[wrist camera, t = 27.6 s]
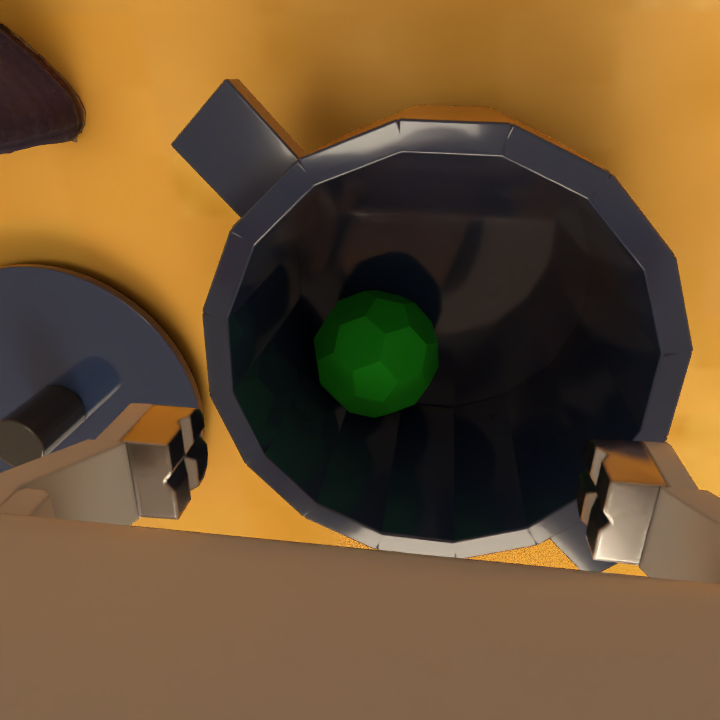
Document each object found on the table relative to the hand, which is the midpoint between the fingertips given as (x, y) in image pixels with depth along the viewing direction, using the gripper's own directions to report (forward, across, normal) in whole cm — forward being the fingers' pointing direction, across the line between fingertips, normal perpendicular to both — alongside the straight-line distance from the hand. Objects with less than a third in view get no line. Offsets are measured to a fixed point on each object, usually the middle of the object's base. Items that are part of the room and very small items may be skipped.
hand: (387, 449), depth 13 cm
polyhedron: (+12, 0, +1) cm, 12 cm away
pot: (+14, -1, +1) cm, 14 cm away
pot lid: (+14, +17, +8) cm, 24 cm away
